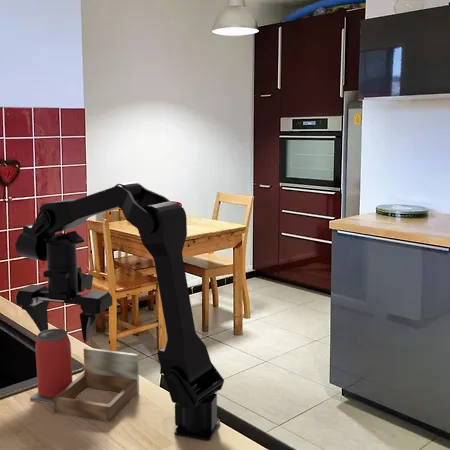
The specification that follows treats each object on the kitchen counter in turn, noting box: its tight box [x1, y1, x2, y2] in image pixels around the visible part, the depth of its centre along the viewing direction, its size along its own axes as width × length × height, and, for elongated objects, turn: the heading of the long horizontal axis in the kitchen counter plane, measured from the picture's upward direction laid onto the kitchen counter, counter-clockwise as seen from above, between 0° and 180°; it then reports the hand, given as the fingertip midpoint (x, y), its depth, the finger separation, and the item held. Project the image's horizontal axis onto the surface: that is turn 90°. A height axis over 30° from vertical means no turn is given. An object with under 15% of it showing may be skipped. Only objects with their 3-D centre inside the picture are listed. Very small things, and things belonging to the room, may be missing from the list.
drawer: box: [52, 347, 140, 424], centre depth 110 cm, size 12×12×8 cm
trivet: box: [29, 391, 53, 404], centre depth 114 cm, size 6×7×1 cm
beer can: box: [34, 328, 74, 398], centre depth 112 cm, size 7×7×12 cm
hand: (65, 339), depth 116 cm, fingers open, 9 cm apart
